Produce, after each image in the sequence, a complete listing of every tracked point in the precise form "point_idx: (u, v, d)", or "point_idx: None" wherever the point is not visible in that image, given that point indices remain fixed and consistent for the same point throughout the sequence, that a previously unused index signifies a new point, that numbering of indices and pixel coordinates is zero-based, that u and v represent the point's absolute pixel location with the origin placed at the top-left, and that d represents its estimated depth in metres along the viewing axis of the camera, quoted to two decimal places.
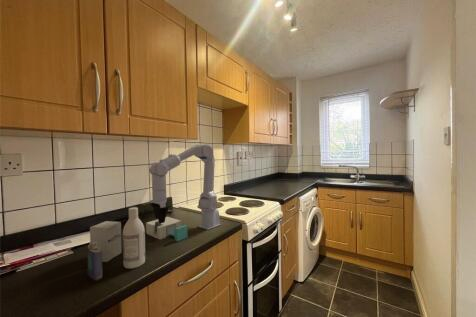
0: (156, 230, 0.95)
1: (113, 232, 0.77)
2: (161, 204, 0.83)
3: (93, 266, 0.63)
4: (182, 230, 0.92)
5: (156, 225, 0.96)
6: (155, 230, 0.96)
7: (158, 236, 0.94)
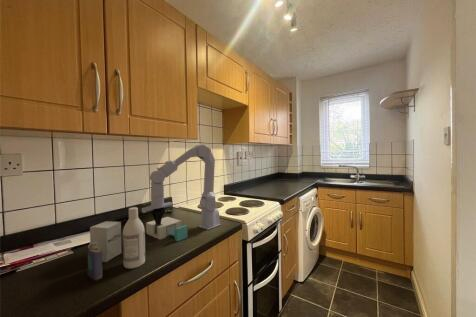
0: (156, 232, 0.96)
1: (113, 232, 0.77)
2: (142, 209, 0.91)
3: (93, 266, 0.63)
4: (182, 230, 0.92)
5: (156, 227, 0.96)
6: (155, 232, 0.96)
7: (158, 236, 0.94)
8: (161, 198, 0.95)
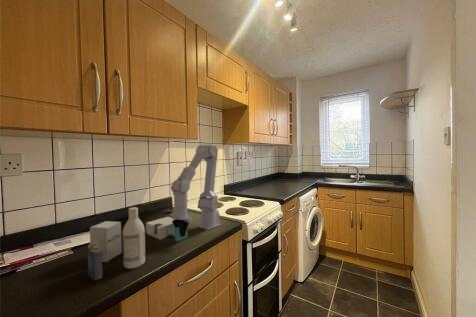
0: (156, 232, 0.96)
1: (113, 232, 0.77)
2: (189, 220, 0.88)
3: (93, 266, 0.63)
4: None
5: (156, 227, 0.96)
6: (155, 232, 0.96)
7: (158, 236, 0.94)
8: None
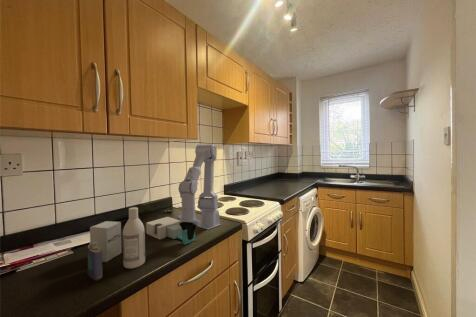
0: (156, 232, 0.96)
1: (113, 232, 0.77)
2: (198, 222, 0.84)
3: (93, 266, 0.63)
4: None
5: (156, 227, 0.96)
6: (155, 232, 0.96)
7: (158, 236, 0.94)
8: None
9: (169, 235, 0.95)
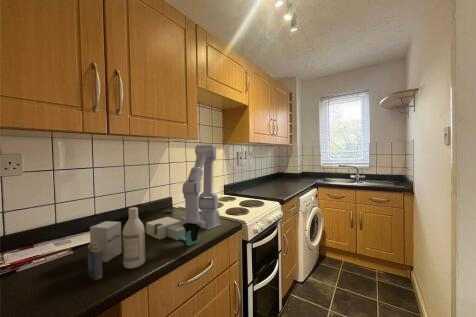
0: (156, 232, 0.96)
1: (113, 232, 0.77)
2: (202, 223, 0.83)
3: (93, 266, 0.63)
4: None
5: (156, 227, 0.96)
6: (155, 232, 0.96)
7: (158, 236, 0.94)
8: None
9: (172, 236, 0.93)
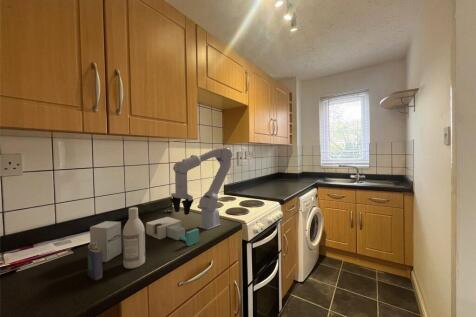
0: (156, 232, 0.96)
1: (113, 232, 0.77)
2: (189, 197, 0.95)
3: (93, 266, 0.63)
4: (194, 234, 0.87)
5: (156, 227, 0.96)
6: (155, 232, 0.96)
7: (158, 236, 0.94)
8: None
9: (172, 236, 0.93)
